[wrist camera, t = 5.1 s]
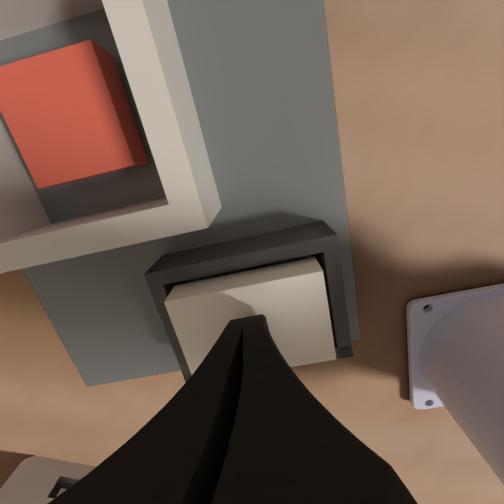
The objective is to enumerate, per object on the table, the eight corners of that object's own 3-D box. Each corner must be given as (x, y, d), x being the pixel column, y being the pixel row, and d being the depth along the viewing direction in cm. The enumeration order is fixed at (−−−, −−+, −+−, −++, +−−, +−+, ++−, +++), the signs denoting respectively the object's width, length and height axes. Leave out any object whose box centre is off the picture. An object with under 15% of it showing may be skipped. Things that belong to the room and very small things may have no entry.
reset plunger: (112, 54, 10) (90, 39, 9) (148, 163, 11) (134, 164, 10) (16, 82, 11) (-18, 71, 9) (62, 185, 12) (38, 189, 10)
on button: (315, 256, 11) (322, 270, 10) (328, 337, 12) (336, 359, 11) (174, 285, 12) (164, 302, 10) (201, 359, 13) (194, 383, 11)
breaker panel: (303, -79, 10) (346, -299, 5) (351, 323, 16) (394, 397, 11) (-69, 38, 12) (-308, -49, 7) (100, 367, 17) (39, 451, 12)
